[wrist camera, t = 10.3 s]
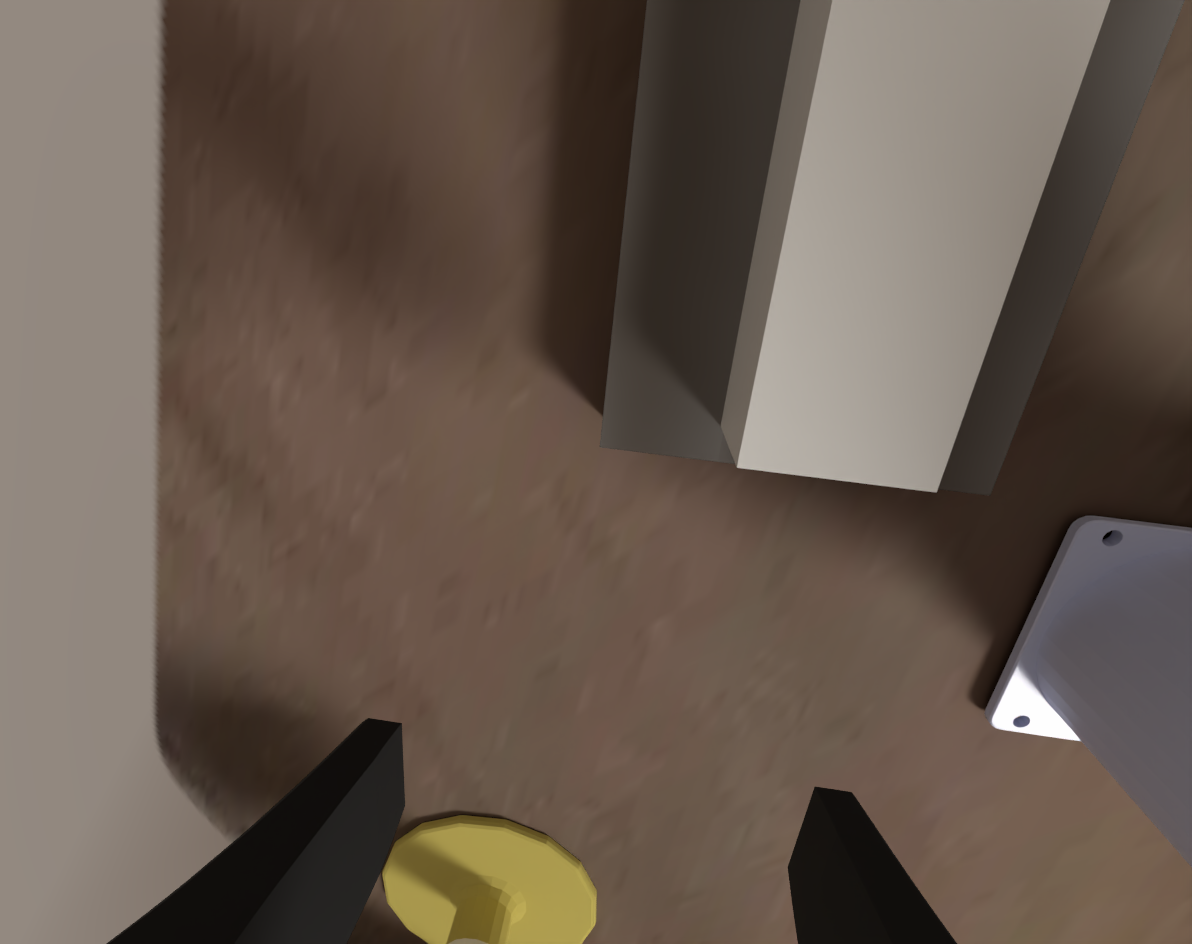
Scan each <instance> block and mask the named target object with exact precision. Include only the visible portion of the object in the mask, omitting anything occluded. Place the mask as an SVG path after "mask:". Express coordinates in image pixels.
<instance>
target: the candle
mask: <svg viewBox="0 0 1192 944" xmlns="http://www.w3.org/2000/svg"><path fill="white" fill-rule="evenodd" d="M382 876H383V881H384V887H385V892H386V897H387V903H388V904H389V905H390V907H391V908H392V909H393V911H394V912H395V913H396V915H397V916H398V917H399V919H400V920H401V921H402V923H403V924H404V925H405V927H406V928H407V929H408V930H410V931H411V932H413V933H414V934H415V935H417V936H418V937H420V938H421V939H423V940H424V941H425V942H427V943H428V944H582V942H583V941H584V940H585V938H586V937H587V935H588V934H589V933H590V931H591V930H592V928H593V927H594V925H595V923H596V896H597V890H596V888H595V887H594V885H593V883H592V881H591V880H590V878H589V876H588V874H587V872H586V871H585V869H584V867H583V865H582V864H581V862H580V861H579V860H578V859H577V858H575V857H574V856H573V855H572V854H570V853H569V852H568V851H567V850H565V849H564V848H563V847H562V846H560V845H559V844H558V843H557V842H555V841H554V840H553V839H552V838H550V837H549V836H547V835H545V834H542V833H540V832H537V831H534V830H532V829H529V828H527V827H524V826H522V825H519V824H517V823H514V822H511V821H509V820H506V819H497V818H487V817H477V816H468V815H458V816H454V817H449V818H444V819H439V820H434V821H429V822H424V823H422V824H420V825H419V826H417V827H416V828H414V829H413V830H411V831H410V832H409V833H407V834H406V835H404V836H403V837H401V838H400V839H398V840H397V841H396V842H395V844H394V846H393V848H392V851H391V853H390V855H389V857H388V860H387V862H386V864H385V867H384V869H383V871H382Z"/></svg>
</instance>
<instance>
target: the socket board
mask: <svg viewBox="0 0 1192 944" xmlns="http://www.w3.org/2000/svg"><path fill="white" fill-rule="evenodd" d="M1183 3H1184V0H1110V3H1109V6H1108V9H1107V11H1106V14H1105V17H1104V20H1103V23H1102V26H1101V28H1100V31H1099V34H1098V37H1097V40H1096V43H1095V45H1094V48H1093V51H1092V54H1091V57H1090V60H1089V62H1088V65H1087V68H1086V71H1085V74H1084V77H1083V79H1082V82H1081V85H1080V88H1079V91H1078V94H1077V96H1076V99H1075V102H1074V105H1073V108H1072V111H1071V113H1070V116H1069V119H1068V122H1067V125H1066V128H1065V130H1064V133H1063V136H1062V139H1061V142H1060V145H1059V147H1058V150H1057V153H1056V156H1055V159H1054V162H1053V164H1052V167H1051V170H1050V173H1049V176H1048V179H1047V181H1046V184H1045V187H1044V190H1043V193H1042V196H1041V198H1040V201H1039V204H1038V207H1037V210H1036V213H1035V215H1034V218H1033V221H1032V224H1031V227H1030V230H1029V232H1028V235H1027V238H1026V241H1025V244H1024V247H1023V249H1022V252H1021V255H1020V258H1019V261H1018V264H1017V266H1016V269H1015V272H1014V275H1013V278H1012V281H1011V283H1010V286H1009V289H1008V292H1007V295H1006V298H1005V300H1004V303H1003V306H1002V309H1001V312H1000V315H999V317H998V320H997V323H996V326H995V329H994V332H993V334H992V337H991V340H990V343H989V346H988V349H987V351H986V354H985V357H984V360H983V363H982V366H981V368H980V371H979V374H978V377H977V380H976V383H975V385H974V388H973V391H972V394H971V397H970V400H969V402H968V405H967V408H966V411H965V414H964V417H963V419H962V422H961V425H960V428H959V431H958V434H957V436H956V439H955V442H954V445H953V448H952V451H951V453H950V456H949V459H948V462H947V465H946V468H945V470H944V473H943V476H942V479H941V482H940V485H939V487H938V489H940V490H948V491H956V492H964V493H972V494H981V495H989V496H990V495H991V492H992V490H993V487H994V485H995V482H996V480H997V477H998V474H999V472H1000V469H1001V467H1002V464H1003V462H1004V459H1005V457H1006V454H1007V452H1008V449H1009V446H1010V444H1011V441H1012V439H1013V436H1014V434H1015V431H1016V429H1017V426H1018V423H1019V421H1020V418H1021V416H1022V413H1023V411H1024V408H1025V406H1026V403H1027V401H1028V398H1029V395H1030V393H1031V390H1032V388H1033V385H1034V383H1035V380H1036V378H1037V375H1038V373H1039V370H1040V367H1041V365H1042V362H1043V360H1044V357H1045V355H1046V352H1047V350H1048V347H1049V344H1050V342H1051V339H1052V337H1053V334H1054V332H1055V329H1056V327H1057V324H1058V322H1059V319H1060V316H1061V314H1062V311H1063V309H1064V306H1065V304H1066V301H1067V299H1068V296H1069V293H1070V291H1071V288H1072V286H1073V283H1074V281H1075V278H1076V276H1077V273H1078V271H1079V268H1080V265H1081V263H1082V260H1083V258H1084V255H1085V253H1086V250H1087V248H1088V245H1089V243H1090V240H1091V237H1092V235H1093V232H1094V230H1095V227H1096V225H1097V222H1098V220H1099V217H1100V214H1101V212H1102V209H1103V207H1104V204H1105V202H1106V199H1107V197H1108V194H1109V192H1110V189H1111V186H1112V184H1113V181H1114V179H1115V176H1116V174H1117V171H1118V169H1119V166H1120V163H1121V161H1122V158H1123V156H1124V153H1125V151H1126V148H1127V146H1128V143H1129V141H1130V138H1131V135H1132V133H1133V130H1134V128H1135V125H1136V123H1137V120H1138V118H1139V115H1140V113H1141V110H1142V107H1143V105H1144V102H1145V100H1146V97H1147V95H1148V92H1149V90H1150V87H1151V84H1152V82H1153V79H1154V77H1155V74H1156V72H1157V69H1158V67H1159V64H1160V62H1161V59H1162V56H1163V54H1164V51H1165V49H1166V46H1167V44H1168V41H1169V39H1170V36H1171V33H1172V31H1173V28H1174V26H1175V23H1176V21H1177V18H1178V16H1179V13H1180V11H1181V8H1182V5H1183ZM799 6H800V0H647V5H646V15H645V24H644V34H643V43H642V53H641V62H640V71H639V81H638V90H637V100H636V109H635V119H634V128H633V138H632V147H631V156H630V166H629V175H628V185H627V194H626V204H625V213H624V223H623V232H622V241H621V251H620V260H619V270H618V279H617V289H616V298H615V308H614V317H613V326H612V336H611V345H610V355H609V364H608V374H607V383H606V393H605V402H604V411H603V421H602V430H601V440H600V447H602V448H610V449H618V450H626V451H634V452H642V453H650V454H658V455H666V456H675V457H683V458H691V459H699V460H707V461H715V462H723V463H731V464H735V462H734V459H733V457H732V454H731V452H730V449H729V446H728V444H727V441H726V439H725V436H724V433H723V431H722V428H721V421H722V416H723V410H724V405H725V400H726V394H727V389H728V384H729V378H730V373H731V368H732V363H733V357H734V352H735V347H736V341H737V336H738V331H739V325H740V320H741V315H742V309H743V304H744V299H745V293H746V288H747V283H748V277H749V272H750V267H751V261H752V256H753V251H754V245H755V240H756V235H757V229H758V224H759V219H760V213H761V208H762V203H763V197H764V192H765V187H766V181H767V176H768V171H769V166H770V160H771V155H772V150H773V144H774V139H775V134H776V128H777V123H778V118H779V112H780V107H781V102H782V96H783V91H784V86H785V80H786V75H787V70H788V64H789V59H790V54H791V48H792V43H793V38H794V32H795V27H796V22H797V16H798V11H799Z"/></svg>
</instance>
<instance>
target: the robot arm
mask: <svg viewBox="0 0 1192 944" xmlns="http://www.w3.org/2000/svg"><path fill="white" fill-rule="evenodd" d="M1110 531H1112V534H1111V535H1110V536H1109V537H1108V538H1106V539H1104V540H1102V539H1103V536H1104V535H1105V534H1106V533H1108V532H1110ZM985 716H986V718H987V720H988V721H989V723H990V724H991V725H992V726H993V727H994V728H997V729H1001V730H1008V731H1014V732H1021V733H1028V734H1035V735H1042V736H1049V737H1056V738H1063V739H1069V740H1076V741H1082V742H1083V743H1084V745H1085V746H1086V747H1087V748H1088V749H1089V750H1090V751H1091V753H1092V754H1093V755H1094V756H1095V757H1096V758H1097V759H1098V761H1099V762H1100V763H1101V764H1102V765H1103V766H1104V767H1105V769H1106V770H1107V771H1108V772H1109V773H1110V774H1111V775H1112V777H1113V778H1114V779H1115V780H1116V781H1117V782H1118V783H1119V785H1120V786H1121V787H1122V788H1123V789H1124V790H1125V791H1126V793H1127V794H1128V795H1129V796H1130V797H1131V798H1132V799H1133V801H1134V802H1135V803H1136V804H1137V805H1138V806H1139V807H1140V809H1141V810H1142V811H1143V812H1144V813H1145V814H1146V815H1147V817H1148V818H1149V819H1150V820H1151V821H1152V822H1153V823H1154V825H1155V826H1156V827H1157V828H1158V829H1159V830H1160V831H1161V833H1162V834H1163V835H1164V836H1165V837H1166V838H1167V839H1168V841H1169V842H1170V843H1171V844H1172V845H1173V846H1174V847H1175V849H1176V850H1177V851H1178V852H1179V853H1180V854H1181V855H1182V857H1183V858H1184V859H1185V860H1186V861H1187V862H1188V863H1189V865H1190V866H1191V867H1192V528H1189V527H1181V526H1173V525H1165V524H1157V523H1149V522H1141V521H1133V520H1125V519H1117V518H1109V517H1101V516H1084V517H1081V518H1079V519H1077V520H1076V521H1074V522H1073V523H1072V524H1071V526H1070V527H1069V529H1068V531H1067V533H1066V535H1065V537H1064V540H1063V542H1062V544H1061V546H1060V548H1059V550H1058V553H1057V555H1056V557H1055V559H1054V561H1053V563H1052V566H1051V568H1050V570H1049V572H1048V574H1047V577H1046V579H1045V581H1044V583H1043V585H1042V587H1041V590H1040V592H1039V594H1038V596H1037V598H1036V600H1035V603H1034V605H1033V607H1032V609H1031V611H1030V613H1029V616H1028V618H1027V620H1026V622H1025V624H1024V627H1023V629H1022V631H1021V633H1020V635H1019V637H1018V640H1017V642H1016V644H1015V646H1014V648H1013V650H1012V653H1011V655H1010V657H1009V659H1008V661H1007V663H1006V666H1005V668H1004V670H1003V672H1002V674H1001V677H1000V679H999V681H998V683H997V685H996V687H995V690H994V692H993V694H992V696H991V698H990V700H989V703H988V705H987V707H986V709H985ZM1018 716H1020V717H1018ZM1016 717H1018V718H1016ZM404 807H405V794H404V770H403V745H402V723H397V722H390V721H384V720H377V719H370V718H368V719H366V720H365V721H363V722H362V723H361V724H360V725H359V726H358V727H357V728H356V729H355V730H354V731H353V732H352V733H351V734H350V735H349V736H348V737H347V738H346V739H345V740H344V741H343V742H342V743H341V744H340V745H338V746H337V747H336V748H335V749H334V750H333V751H332V752H331V753H330V754H329V755H328V756H327V757H326V758H325V759H324V760H323V761H322V762H321V763H320V764H319V765H318V766H317V767H316V768H315V769H313V770H312V771H311V772H310V773H309V774H308V775H307V776H306V777H305V778H304V779H303V780H302V781H301V782H300V783H299V784H298V785H297V786H295V787H294V788H293V789H292V790H291V791H290V792H289V793H288V794H287V795H286V796H284V797H283V798H282V799H281V800H280V801H279V802H278V803H277V804H276V805H275V806H273V807H272V808H271V809H270V810H269V811H268V812H267V813H266V814H265V815H263V816H262V817H261V818H260V819H259V820H258V821H257V822H256V823H255V824H254V825H252V826H251V827H250V828H249V829H248V830H247V831H246V832H244V833H243V834H242V835H241V836H240V837H239V838H238V839H236V840H235V841H234V842H233V843H232V844H230V845H229V846H228V847H227V848H226V849H224V850H223V851H222V852H221V853H220V854H219V855H217V856H216V857H215V858H214V859H213V860H211V861H210V862H209V863H208V864H207V865H205V866H204V867H203V868H202V869H201V870H200V871H198V872H197V873H196V874H195V875H194V876H192V877H191V878H190V879H189V880H188V881H187V882H186V883H184V884H183V885H182V886H180V887H179V888H178V889H177V890H175V891H174V892H173V893H172V894H170V895H169V896H168V897H167V898H165V899H164V900H163V901H162V902H160V903H159V904H158V905H156V906H155V907H154V908H153V909H151V910H150V911H149V912H148V913H146V914H145V915H144V916H142V917H141V918H140V919H139V920H137V921H136V922H135V923H133V924H132V925H131V926H130V927H128V928H127V929H125V930H124V931H123V932H121V933H120V934H119V935H117V936H116V937H115V938H113V939H112V940H111V941H110V942H108V943H107V944H347V942H348V940H349V937H350V935H351V933H352V931H353V929H354V927H355V925H356V923H357V921H358V919H359V917H360V914H361V912H362V910H363V908H364V906H365V904H366V902H367V900H368V898H369V896H370V893H371V891H372V889H373V887H374V885H375V883H376V881H377V879H378V876H379V874H380V872H381V870H382V867H383V864H384V862H385V859H386V857H387V854H388V851H389V849H390V846H391V843H392V841H393V838H394V835H395V832H396V829H397V826H398V824H399V821H400V818H401V815H402V812H403V810H404ZM788 873H789V881H790V889H791V897H792V905H793V912H794V919H795V926H796V933H797V940H798V944H957V943H956V942H955V940H954V939H953V937H952V936H951V935H950V933H949V932H948V931H947V929H946V928H945V926H944V925H943V924H942V922H941V921H940V919H939V918H938V917H937V915H936V914H935V913H934V911H933V910H932V908H931V907H930V906H929V904H928V903H927V901H926V900H925V898H924V897H923V896H922V894H921V893H920V891H919V890H918V888H917V887H916V886H915V884H914V883H913V881H912V880H911V878H910V877H909V875H908V874H907V873H906V871H905V870H904V868H903V867H902V865H901V864H900V862H899V861H898V859H897V858H896V857H895V855H894V854H893V852H892V851H891V849H890V848H889V846H888V845H887V843H886V842H885V840H884V839H883V837H882V836H881V834H880V833H879V831H878V830H877V828H876V827H875V825H874V824H873V822H872V821H871V820H870V818H869V817H868V815H867V814H866V812H865V811H864V809H863V808H862V806H861V805H860V803H859V802H858V800H857V799H856V798H855V796H854V795H853V794H852V792H847V791H840V790H834V789H827V788H821V787H815V788H814V791H813V794H812V797H811V800H810V803H809V806H808V809H807V812H806V815H805V818H804V821H803V824H802V827H801V829H800V832H799V835H798V838H797V841H796V844H795V847H794V850H793V853H792V856H791V859H790V862H789V865H788Z"/></svg>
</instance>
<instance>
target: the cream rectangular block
mask: <svg viewBox="0 0 1192 944" xmlns="http://www.w3.org/2000/svg"><path fill="white" fill-rule="evenodd" d="M1109 3H1110V0H800V6H799V11H798V16H797V22H796V27H795V32H794V38H793V43H792V48H791V54H790V59H789V64H788V70H787V75H786V80H785V86H784V91H783V96H782V102H781V107H780V112H779V118H778V123H777V128H776V134H775V139H774V144H773V150H772V155H771V160H770V166H769V171H768V176H767V181H766V187H765V192H764V197H763V203H762V208H761V213H760V219H759V224H758V229H757V235H756V240H755V245H754V251H753V256H752V261H751V267H750V272H749V277H748V283H747V288H746V293H745V299H744V304H743V309H742V315H741V320H740V325H739V331H738V336H737V341H736V347H735V352H734V357H733V363H732V368H731V373H730V378H729V384H728V389H727V394H726V400H725V405H724V410H723V416H722V421H721V428H722V431H723V433H724V436H725V439H726V441H727V444H728V446H729V449H730V452H731V454H732V457H733V459H734V462H735V465H736V467H737V468H743V469H751V470H759V471H767V472H775V473H783V474H791V475H799V476H807V477H815V478H823V479H831V480H839V481H847V482H855V483H863V484H871V485H879V486H888V487H896V488H904V489H912V490H920V491H928V492H936V493H937V490H938V487H939V485H940V482H941V479H942V476H943V473H944V470H945V468H946V465H947V462H948V459H949V456H950V453H951V451H952V448H953V445H954V442H955V439H956V436H957V434H958V431H959V428H960V425H961V422H962V419H963V417H964V414H965V411H966V408H967V405H968V402H969V400H970V397H971V394H972V391H973V388H974V385H975V383H976V380H977V377H978V374H979V371H980V368H981V366H982V363H983V360H984V357H985V354H986V351H987V349H988V346H989V343H990V340H991V337H992V334H993V332H994V329H995V326H996V323H997V320H998V317H999V315H1000V312H1001V309H1002V306H1003V303H1004V300H1005V298H1006V295H1007V292H1008V289H1009V286H1010V283H1011V281H1012V278H1013V275H1014V272H1015V269H1016V266H1017V264H1018V261H1019V258H1020V255H1021V252H1022V249H1023V247H1024V244H1025V241H1026V238H1027V235H1028V232H1029V230H1030V227H1031V224H1032V221H1033V218H1034V215H1035V213H1036V210H1037V207H1038V204H1039V201H1040V198H1041V196H1042V193H1043V190H1044V187H1045V184H1046V181H1047V179H1048V176H1049V173H1050V170H1051V167H1052V164H1053V162H1054V159H1055V156H1056V153H1057V150H1058V147H1059V145H1060V142H1061V139H1062V136H1063V133H1064V130H1065V128H1066V125H1067V122H1068V119H1069V116H1070V113H1071V111H1072V108H1073V105H1074V102H1075V99H1076V96H1077V94H1078V91H1079V88H1080V85H1081V82H1082V79H1083V77H1084V74H1085V71H1086V68H1087V65H1088V62H1089V60H1090V57H1091V54H1092V51H1093V48H1094V45H1095V43H1096V40H1097V37H1098V34H1099V31H1100V28H1101V26H1102V23H1103V20H1104V17H1105V14H1106V11H1107V9H1108V6H1109Z"/></svg>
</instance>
